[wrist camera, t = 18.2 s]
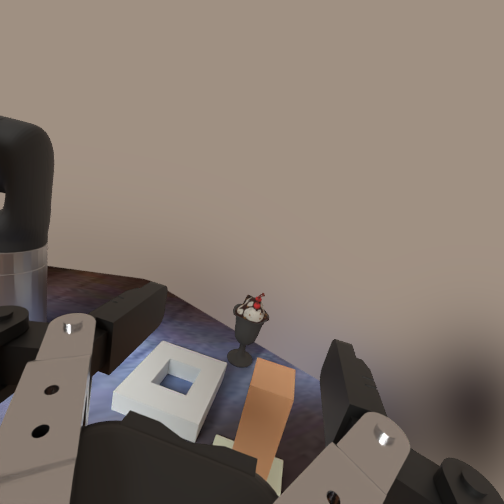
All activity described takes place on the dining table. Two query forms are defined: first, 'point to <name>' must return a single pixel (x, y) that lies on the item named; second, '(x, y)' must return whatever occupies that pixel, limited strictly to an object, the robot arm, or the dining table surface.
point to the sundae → (247, 328)
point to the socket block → (168, 401)
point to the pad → (275, 471)
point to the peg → (265, 413)
